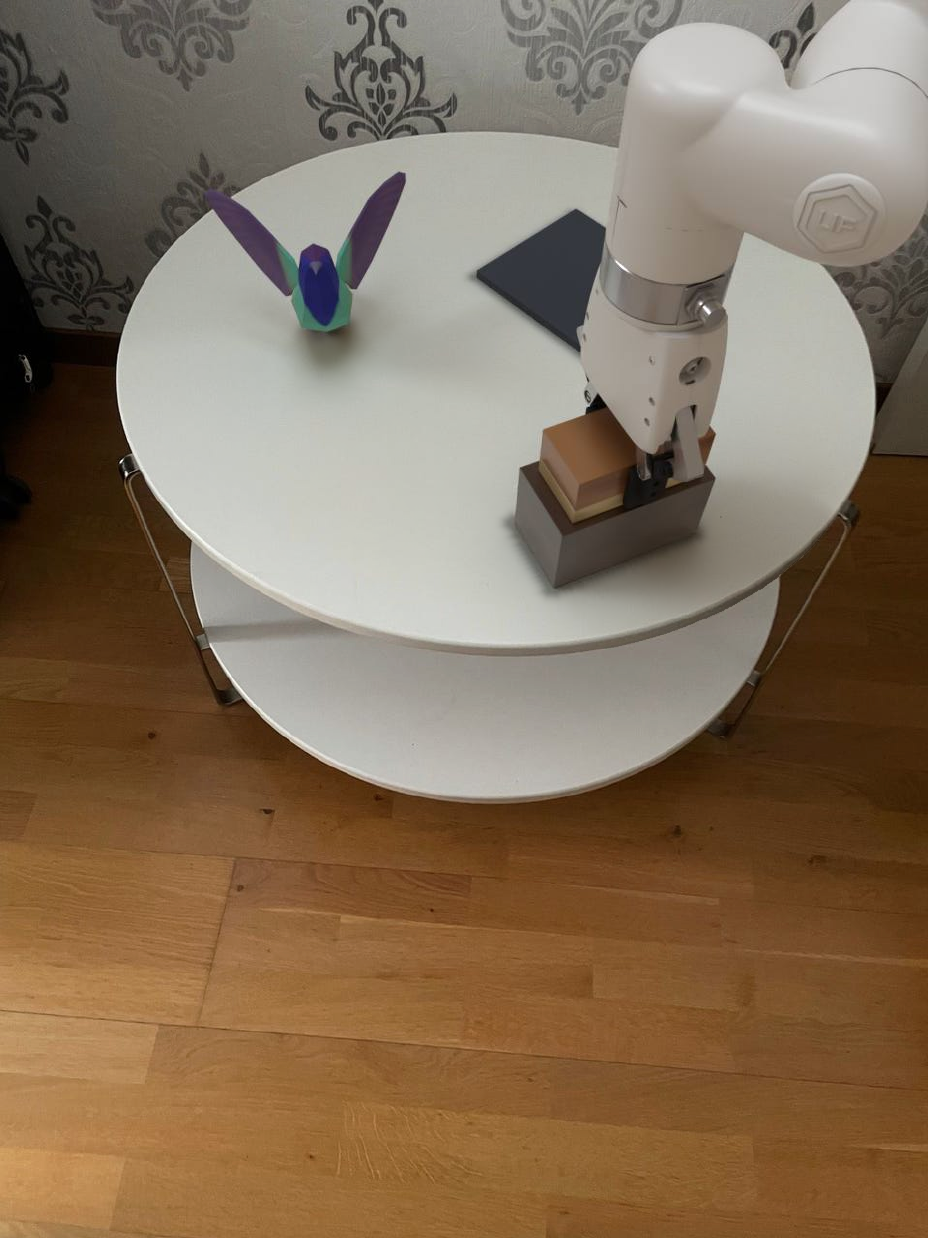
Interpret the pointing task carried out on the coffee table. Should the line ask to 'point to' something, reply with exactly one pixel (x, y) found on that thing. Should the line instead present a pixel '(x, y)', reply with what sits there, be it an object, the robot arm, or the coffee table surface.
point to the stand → (603, 526)
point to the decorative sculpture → (315, 256)
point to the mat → (552, 273)
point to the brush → (594, 462)
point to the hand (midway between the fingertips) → (621, 467)
